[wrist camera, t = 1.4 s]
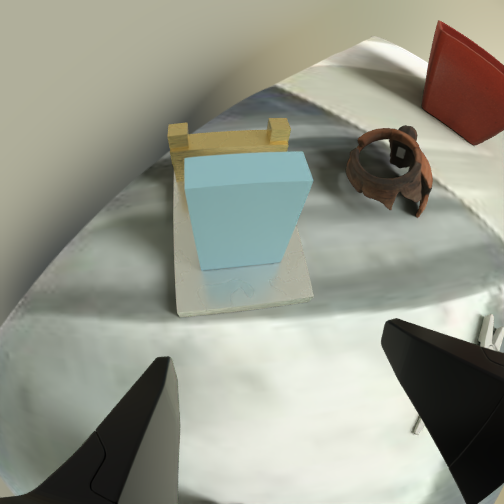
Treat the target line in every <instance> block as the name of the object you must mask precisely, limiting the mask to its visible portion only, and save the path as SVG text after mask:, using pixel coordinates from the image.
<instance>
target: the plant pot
mask: <svg viewBox="0 0 504 504" xmlns="http://www.w3.org/2000/svg"><path fill="white" fill-rule="evenodd" d="M422 108H423V109H424V110H425V111H427V112H428V113H430V114H431V115H433V116H434V117H436V118H437V119H439V120H440V121H442V122H443V123H444V124H446V125H447V126H449V127H450V128H451V129H453V130H454V131H455V132H457V133H458V134H459V135H461V136H462V137H463V138H465V139H466V140H467V141H468V142H470V143H471V144H472V145H478V144H480V143H482V142H484V141H486V140H488V139H490V138H492V137H493V136H495V135H497V134H498V133H500V132H502V131H503V130H504V65H503V64H501V63H500V62H499V61H498V60H497V59H495V58H494V57H493V56H492V55H490V54H489V53H488V52H487V51H485V50H484V49H483V48H481V47H479V46H478V45H477V44H476V43H474V42H473V41H471V40H470V39H469V38H467V37H466V36H464V35H463V34H461V33H459V32H458V31H456V30H455V29H453V28H451V27H450V26H448V25H447V24H445V23H443V22H441V21H438V23H437V26H436V31H435V34H434V39H433V43H432V48H431V53H430V58H429V63H428V69H427V75H426V82H425V88H424V93H423V99H422Z"/></svg>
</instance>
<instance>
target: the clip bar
mask: <svg viewBox="0 0 504 504" xmlns="http://www.w3.org/2000/svg"><path fill="white" fill-rule="evenodd" d="M184 177H185V194H186V199H187V205H188V210H189V215H190V220H191V225H192V230H193V235H194V240H195V245H196V249H197V254H198V259H199V263H200V268H201V270H211V269H221V268H230V267H240V266H250V265H259V264H269V263H278V262H281V260H282V258H283V256H284V253H285V251H286V248H287V246H288V243H289V241H290V238H291V236H292V234H293V231H294V229H295V226H296V224H297V221H298V219H299V216H300V214H301V211H302V208H303V206H304V203H305V201H306V198H307V196H308V193H309V191H310V188H311V185H312V183H313V178H312V176H311V173H310V170H309V167H308V164H307V162H306V159H305V156H304V153H303V152H261V153H240V154H224V155H211V156H200V157H189V158H185V159H184Z"/></svg>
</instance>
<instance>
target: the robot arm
mask: <svg viewBox="0 0 504 504" xmlns="http://www.w3.org/2000/svg"><path fill="white" fill-rule="evenodd" d="M381 345H382V348H383V350H384V352H385V354H386V356H387V358H388V360H389V362H390V364H391V366H392V368H393V371H394V373H395V375H396V377H397V379H398V381H399V382H400V384H401V386H402V387H403V389H404V391H405V392H406V394H407V396H408V397H409V399H410V401H411V402H412V404H413V406H414V407H415V409H416V411H417V412H418V414H419V416H420V417H421V419H422V421H423V423H424V424H425V426H426V428H427V430H428V431H429V433H430V435H431V437H432V438H433V440H434V442H435V444H436V446H437V447H438V449H439V451H440V453H441V455H442V457H443V459H444V460H445V462H446V464H447V466H448V467H449V470H450V472H451V474H452V476H453V478H454V480H455V482H456V484H457V486H458V488H459V490H460V492H461V494H462V496H463V498H464V500H465V502H466V504H478V503H479V502H481V501H482V500H483V499H485V498H486V497H487V496H488V495H490V494H491V493H492V492H493V491H495V490H496V489H497V488H498V487H500V486H501V485H502V484H503V483H504V353H502V352H498V351H495V350H491V349H488V348H485V347H482V346H481V347H480V346H479V345H476V344H473V343H469V342H466V341H463V340H460V339H457V338H454V337H451V336H448V335H445V334H442V333H439V332H436V331H433V330H430V329H427V328H424V327H421V326H418V325H415V324H412V323H409V322H406V321H403V320H400V319H397V318H395V319H391V320H388V321H386V323H385V325H384V330H383V334H382V338H381ZM179 443H180V412H179V397H178V380H177V376H176V372H175V369H174V365H173V361H172V359H171V357H169V356H167V357H157V358H156V359H155V360H154V361H153V363H152V364H151V365H150V366H149V367H148V368H147V370H146V371H145V372H144V373H143V374H142V376H141V377H140V378H139V379H138V380H137V381H136V383H135V384H134V385H133V386H132V387H131V388H130V390H129V391H128V392H127V393H126V394H125V395H124V397H123V398H122V399H121V400H120V401H119V403H118V404H117V405H116V406H115V407H114V408H113V410H112V411H111V412H110V413H109V414H108V415H107V417H106V418H105V419H104V420H103V421H102V423H101V424H100V425H99V426H98V427H97V428H96V431H94V432H93V433H92V434H91V435H90V437H89V438H88V439H87V440H86V441H85V442H84V443H83V444H82V446H81V447H80V448H79V449H78V450H77V451H76V452H75V453H74V454H73V455H72V456H71V457H70V458H69V459H68V460H67V461H66V462H65V463H64V464H63V465H62V466H60V467H59V468H58V469H57V470H56V471H55V472H54V473H53V474H52V475H51V476H49V477H48V478H47V479H46V480H45V481H44V482H43V483H42V484H41V485H39V486H38V487H37V488H36V489H34V490H32V491H31V492H29V493H26V494H23V495H19V496H12V497H3V498H0V504H178V468H179Z"/></svg>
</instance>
